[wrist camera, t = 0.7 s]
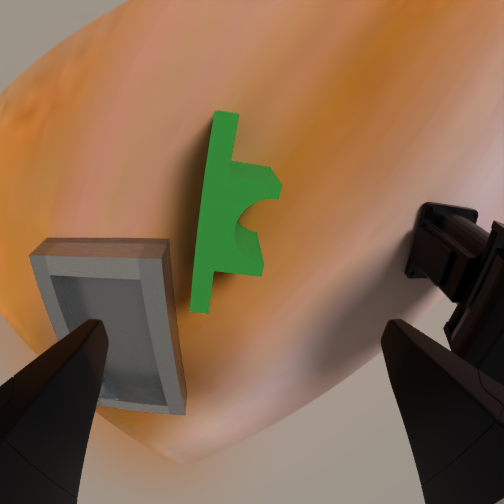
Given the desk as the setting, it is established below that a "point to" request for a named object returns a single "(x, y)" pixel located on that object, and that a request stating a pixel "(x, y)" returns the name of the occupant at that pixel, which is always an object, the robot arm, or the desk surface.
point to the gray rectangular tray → (119, 314)
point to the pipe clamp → (227, 213)
